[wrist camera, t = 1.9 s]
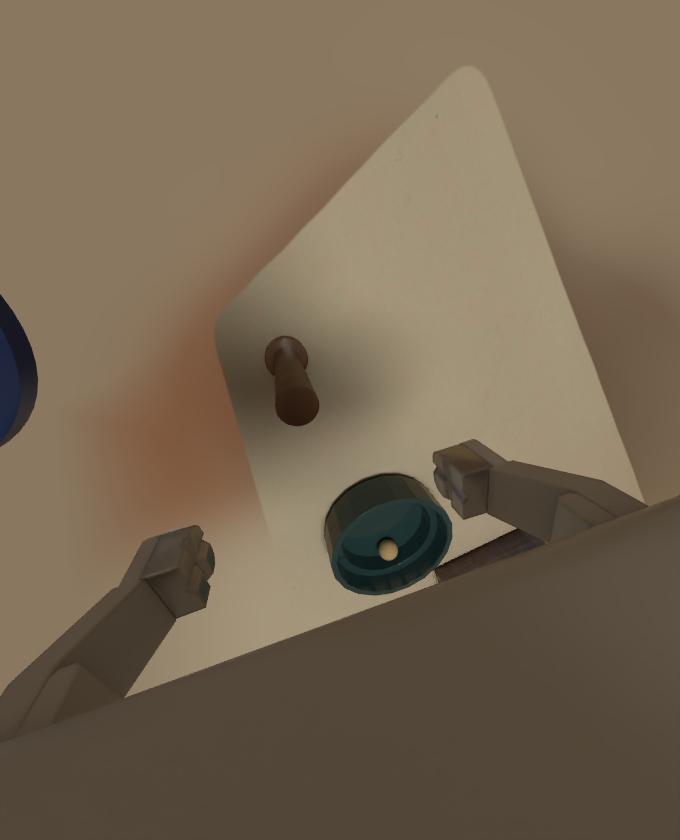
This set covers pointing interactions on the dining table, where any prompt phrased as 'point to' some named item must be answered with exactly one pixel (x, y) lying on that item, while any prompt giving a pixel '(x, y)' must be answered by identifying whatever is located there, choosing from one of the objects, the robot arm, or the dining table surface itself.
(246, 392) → the dining table surface
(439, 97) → the dining table surface
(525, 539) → the book
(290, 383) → the stirrer
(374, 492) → the bowl
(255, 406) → the dining table surface
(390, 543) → the dough ball
